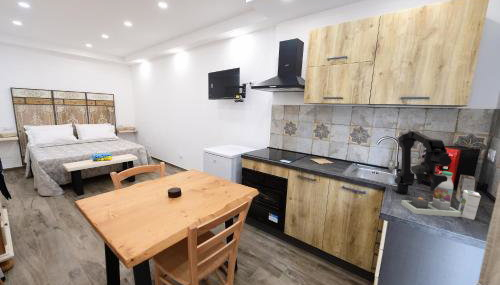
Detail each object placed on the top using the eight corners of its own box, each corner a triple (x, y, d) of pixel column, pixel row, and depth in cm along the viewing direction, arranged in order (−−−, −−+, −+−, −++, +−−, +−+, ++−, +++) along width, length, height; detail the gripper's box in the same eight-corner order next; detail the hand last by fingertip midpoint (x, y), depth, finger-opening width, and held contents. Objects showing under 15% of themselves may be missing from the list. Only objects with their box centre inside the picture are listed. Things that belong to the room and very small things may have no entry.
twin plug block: (431, 208, 115) (433, 197, 114) (440, 208, 115) (443, 197, 114) (438, 212, 110) (441, 201, 109) (448, 213, 110) (451, 201, 109)
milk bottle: (432, 199, 130) (439, 169, 127) (449, 203, 125) (456, 172, 122) (431, 202, 125) (438, 171, 122) (449, 207, 120) (456, 175, 116)
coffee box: (472, 205, 125) (479, 180, 122) (458, 201, 128) (464, 177, 125) (468, 199, 132) (474, 176, 129) (454, 197, 136) (460, 174, 133)
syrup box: (456, 213, 112) (462, 189, 110) (472, 217, 109) (478, 192, 106) (458, 217, 108) (464, 192, 106) (474, 222, 104) (481, 195, 102)
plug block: (419, 207, 116) (421, 196, 115) (426, 211, 111) (429, 200, 110) (410, 206, 116) (412, 195, 115) (417, 211, 111) (419, 199, 110)
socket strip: (400, 205, 119) (401, 200, 119) (441, 208, 118) (442, 202, 117) (414, 215, 108) (415, 209, 108) (459, 218, 107) (461, 212, 107)
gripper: (404, 156, 124) (399, 180, 127) (428, 165, 105) (423, 193, 108) (423, 157, 123) (418, 181, 126) (451, 166, 105) (444, 194, 108)
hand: (424, 187), depth 117 cm, fingers open, 9 cm apart
